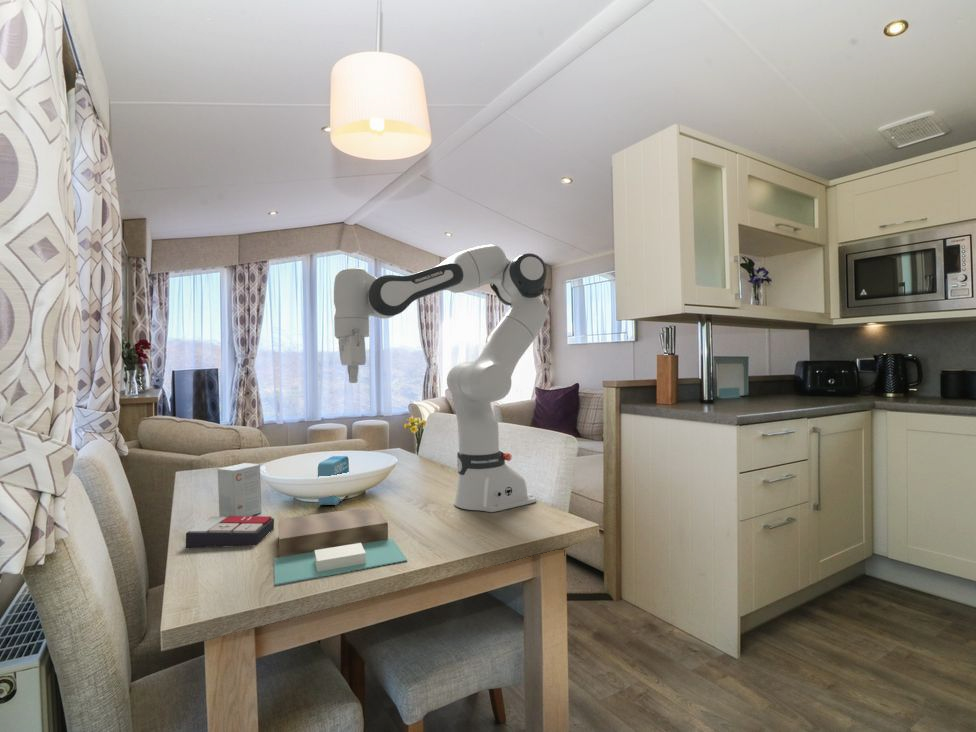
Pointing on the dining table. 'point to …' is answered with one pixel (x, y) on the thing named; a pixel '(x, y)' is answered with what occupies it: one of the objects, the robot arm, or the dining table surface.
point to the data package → (329, 468)
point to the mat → (305, 568)
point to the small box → (239, 490)
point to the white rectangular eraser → (339, 557)
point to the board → (331, 530)
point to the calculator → (229, 531)
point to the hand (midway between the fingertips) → (353, 382)
